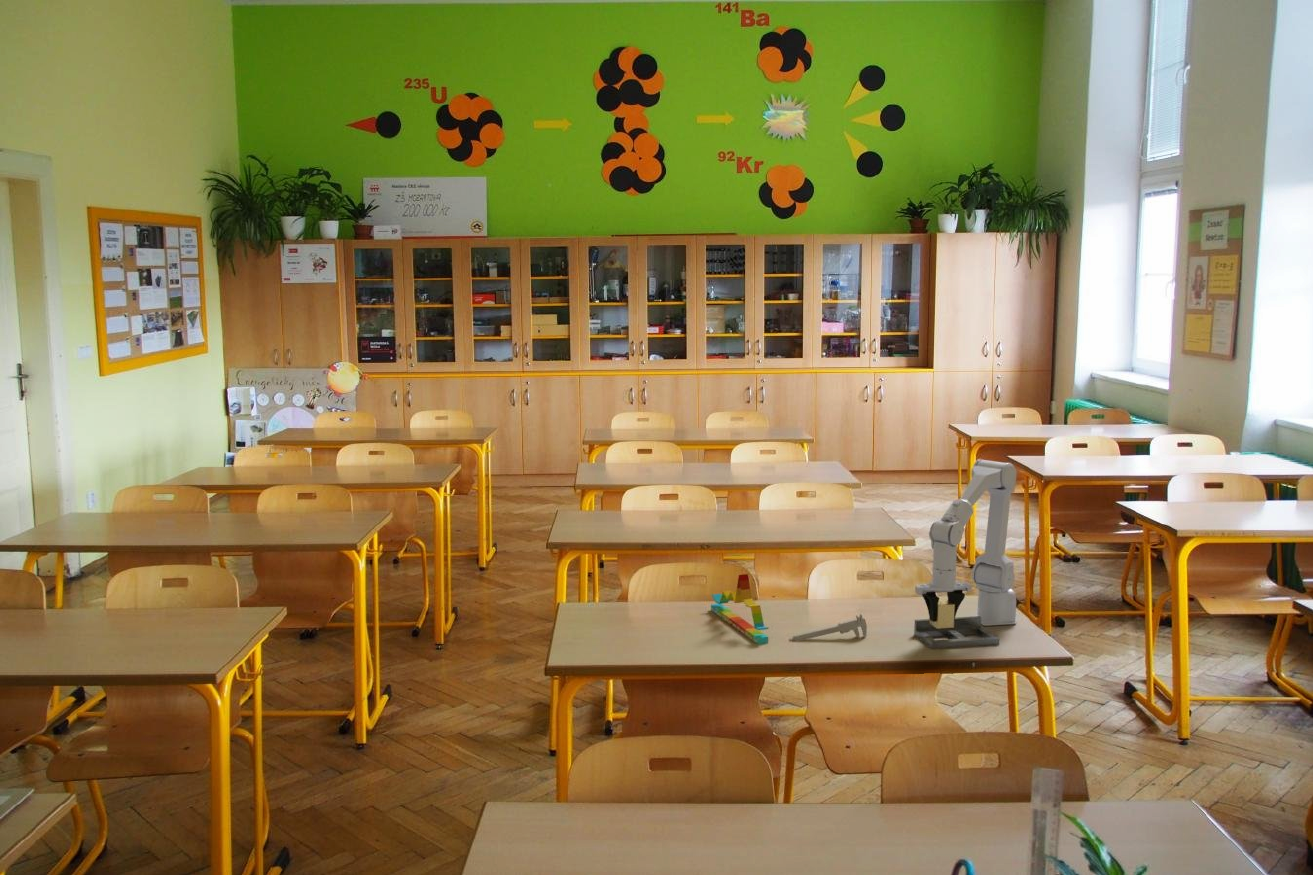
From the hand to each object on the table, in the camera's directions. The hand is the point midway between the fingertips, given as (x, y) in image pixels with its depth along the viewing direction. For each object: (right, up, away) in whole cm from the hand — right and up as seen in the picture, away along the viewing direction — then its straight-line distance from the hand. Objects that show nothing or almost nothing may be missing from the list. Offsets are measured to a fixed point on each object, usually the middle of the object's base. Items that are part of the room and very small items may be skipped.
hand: (942, 619), depth 279 cm
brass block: (0, -1, 0) cm, 2 cm away
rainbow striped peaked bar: (-51, -4, +13) cm, 53 cm away
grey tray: (+4, -5, +2) cm, 7 cm away
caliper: (-29, -6, +3) cm, 29 cm away
